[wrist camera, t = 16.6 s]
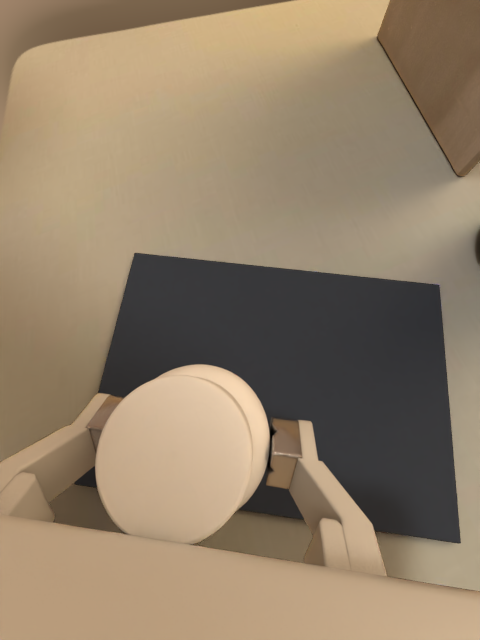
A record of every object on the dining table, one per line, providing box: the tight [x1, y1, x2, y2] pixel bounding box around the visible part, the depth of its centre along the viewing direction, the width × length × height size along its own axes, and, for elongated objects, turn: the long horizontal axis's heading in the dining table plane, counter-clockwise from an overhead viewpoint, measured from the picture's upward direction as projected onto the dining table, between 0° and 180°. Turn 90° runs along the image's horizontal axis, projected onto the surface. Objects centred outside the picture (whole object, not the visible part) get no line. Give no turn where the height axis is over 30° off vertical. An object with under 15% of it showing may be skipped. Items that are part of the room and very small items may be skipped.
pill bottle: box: [95, 364, 270, 545], centre depth 11 cm, size 5×5×9 cm
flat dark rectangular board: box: [74, 253, 461, 543], centre depth 16 cm, size 20×14×1 cm
